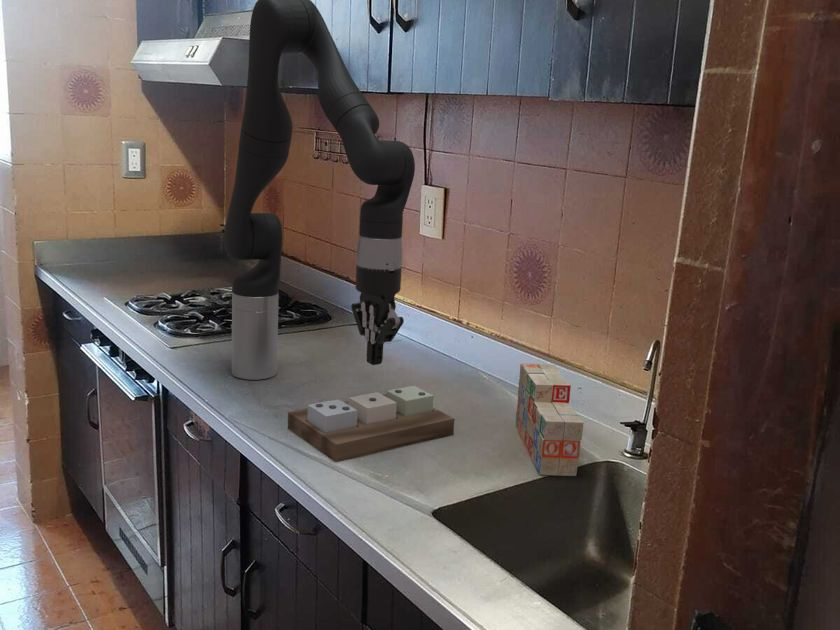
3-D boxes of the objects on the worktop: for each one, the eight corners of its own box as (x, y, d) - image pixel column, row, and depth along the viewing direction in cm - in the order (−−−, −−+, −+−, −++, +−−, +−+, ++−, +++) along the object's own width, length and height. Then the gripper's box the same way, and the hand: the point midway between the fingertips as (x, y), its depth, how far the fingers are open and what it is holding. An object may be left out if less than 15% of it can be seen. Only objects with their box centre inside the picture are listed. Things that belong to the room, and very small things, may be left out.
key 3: (307, 422, 136) (307, 403, 135) (338, 416, 140) (338, 398, 139) (325, 434, 131) (326, 415, 131) (356, 428, 135) (357, 409, 134)
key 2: (385, 407, 145) (386, 389, 145) (412, 402, 149) (413, 384, 148) (405, 418, 141) (406, 399, 140) (432, 412, 144) (433, 394, 144)
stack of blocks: (577, 477, 128) (586, 404, 125) (538, 476, 127) (546, 402, 125) (547, 427, 149) (554, 363, 146) (514, 426, 148) (520, 361, 145)
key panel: (287, 428, 140) (288, 412, 139) (400, 406, 154) (401, 391, 153) (335, 462, 128) (336, 444, 127) (453, 434, 142) (454, 418, 141)
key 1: (347, 414, 141) (348, 396, 140) (376, 409, 144) (377, 391, 143) (366, 426, 136) (367, 407, 135) (395, 420, 140) (396, 401, 139)
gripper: (338, 257, 137) (335, 356, 141) (382, 271, 126) (377, 377, 130) (375, 255, 141) (371, 351, 145) (421, 269, 131) (414, 371, 135)
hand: (374, 363), depth 138 cm, fingers closed
